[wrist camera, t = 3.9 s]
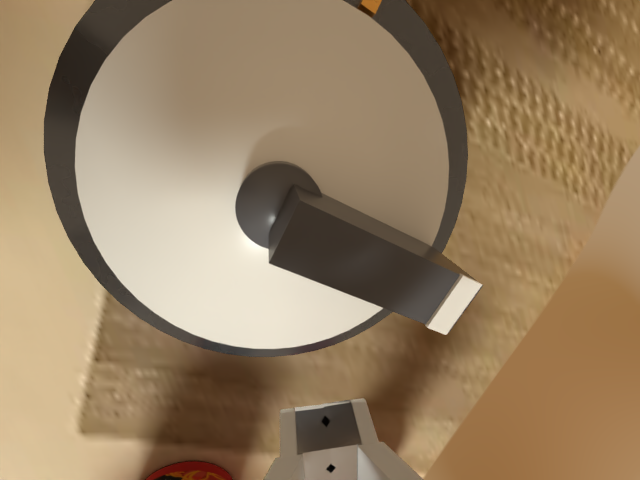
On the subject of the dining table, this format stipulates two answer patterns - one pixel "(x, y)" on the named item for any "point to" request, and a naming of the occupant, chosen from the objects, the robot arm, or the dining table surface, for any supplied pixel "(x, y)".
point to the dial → (268, 173)
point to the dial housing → (85, 62)
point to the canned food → (191, 472)
